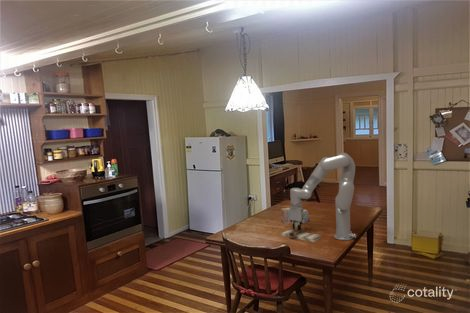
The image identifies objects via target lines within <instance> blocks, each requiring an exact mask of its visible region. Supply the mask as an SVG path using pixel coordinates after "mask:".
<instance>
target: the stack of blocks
mask: <svg viewBox="0 0 470 313" xmlns="http://www.w3.org/2000/svg"><path fill="white" fill-rule="evenodd" d="M280 209H281V212H280V213H281V223H282V224H283V225H293V224H292V223H291V221H289V220H288V218H289V210H290V207H284V208H280ZM303 212H304V220H305V222H304V223H308V222H309V221H310V220H309V210H307V209H303Z"/></svg>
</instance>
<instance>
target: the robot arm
mask: <svg viewBox="0 0 470 313" xmlns="http://www.w3.org/2000/svg"><path fill="white" fill-rule="evenodd" d="M341 168H342V169H341ZM336 169H341V170H342V171H341V175H340V180H339V183H338V188H339V189H338V193H337V195H336V196H335V199H334V200H335V203H334V204H335V230H336V231H335V234H333V238H334V239H336V240H340V241H350V240H353V238H355V239H356V238H357V234H356V233H353V231H352V230H351V206H352V202H353V197H354V192H355V184H354V179H355V176H356V175H355V174H356V163H355V161H354V159H353V157H351V156H350V155H349V154H348V153H347V152H339V153H338V154H337V155H335V156H331V157H329V156H324V157H322V158H321V159H320V161H319V163H318V164H317V166H316V167H315V168H314V170H313V171H312V173H311V174H310V176H309V178H308V179H307V181H306V182H305V183H304V185H303V186H302V188H300V187H292V188H290V189H289V192H290V193H289V194H290V195H289V196H290V206H289V208H290V210H289V218H288V220H289V221H291V223H292V224H291V225H292V230H294V231H295V225H294V221H298V231H299V230H301V228H302V225H303V223H306V222H305V220H304V212H303V210H304V209H303V206H304V204H303V203H302V200H308V199H310V198H311V197H312V193H313V192H314V190H315V189H316V187H317V186H318V185H319V183H322V181H323V180H324V178H326V175H327V174H328V173H329V171H332V170H333V171H334V170H336Z"/></svg>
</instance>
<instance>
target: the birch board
mask: <svg viewBox="0 0 470 313" xmlns="http://www.w3.org/2000/svg"><path fill="white" fill-rule="evenodd" d="M293 231H295V229H294V230H293V229H287V230H285V231H284V232H281V236H282V237H286V238H289V233H290V232H291V233H292V232H293ZM296 239H297V240H300V241H301V240H302V241H306V242H311V243H315V242H317V241H318V240H320V239H322V236H321V234H318V233H317V234H316V233H310V232H305V231H302V232H300V233H299V234H297V235H296ZM296 239H295V240H296Z"/></svg>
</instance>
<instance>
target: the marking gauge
mask: <svg viewBox="0 0 470 313" xmlns="http://www.w3.org/2000/svg"><path fill="white" fill-rule="evenodd" d="M294 225H295V229H294V231H293V232H292V233H291V232H290V233H289V237H288V238H289V239H295V240H296V235H297V234H299V233H300V232H304V228H303V227H301V230H299V231H298V221H294Z"/></svg>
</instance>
